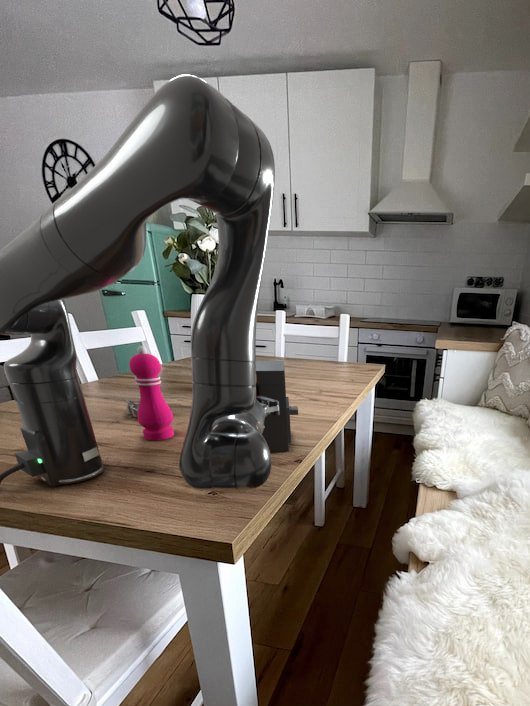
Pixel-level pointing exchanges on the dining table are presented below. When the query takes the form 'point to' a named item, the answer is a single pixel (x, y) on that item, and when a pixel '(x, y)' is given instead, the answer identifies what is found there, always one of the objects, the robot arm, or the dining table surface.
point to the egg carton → (132, 407)
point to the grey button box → (273, 387)
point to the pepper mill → (151, 397)
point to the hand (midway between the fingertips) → (247, 396)
